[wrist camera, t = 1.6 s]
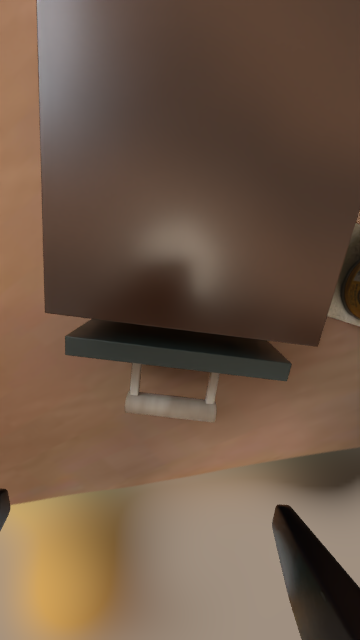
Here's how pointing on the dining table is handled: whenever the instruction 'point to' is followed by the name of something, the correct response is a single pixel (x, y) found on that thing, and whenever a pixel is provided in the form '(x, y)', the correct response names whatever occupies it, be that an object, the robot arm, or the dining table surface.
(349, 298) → the condiment
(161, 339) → the drawer
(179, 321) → the cabinet
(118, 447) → the dining table surface
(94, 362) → the dining table surface
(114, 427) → the dining table surface
